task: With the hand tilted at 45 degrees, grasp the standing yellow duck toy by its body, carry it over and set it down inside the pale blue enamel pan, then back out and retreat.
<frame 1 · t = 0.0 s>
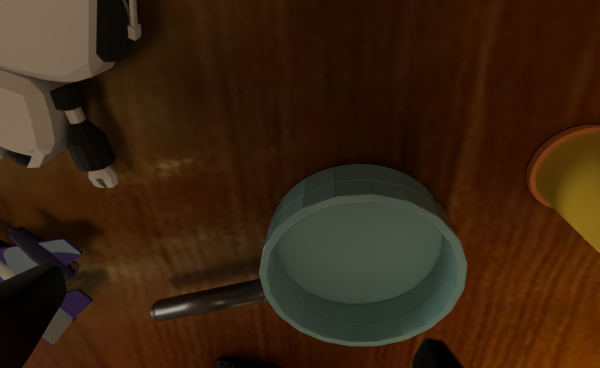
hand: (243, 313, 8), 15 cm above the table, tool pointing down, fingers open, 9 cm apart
toy airplane: (31, 244, 28), on the table
pan: (355, 242, 25), on the table
duck toy: (574, 167, 21), on the table
robot toy: (54, 42, 20), on the table
pan handle: (210, 300, 25), point 2 cm above the table
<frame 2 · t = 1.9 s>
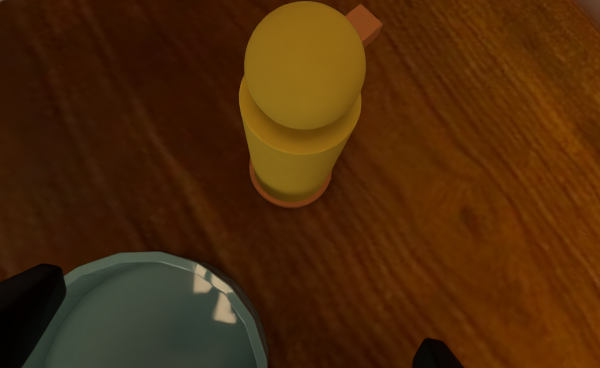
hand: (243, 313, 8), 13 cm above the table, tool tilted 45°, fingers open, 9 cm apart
duck toy: (290, 168, 23), on the table
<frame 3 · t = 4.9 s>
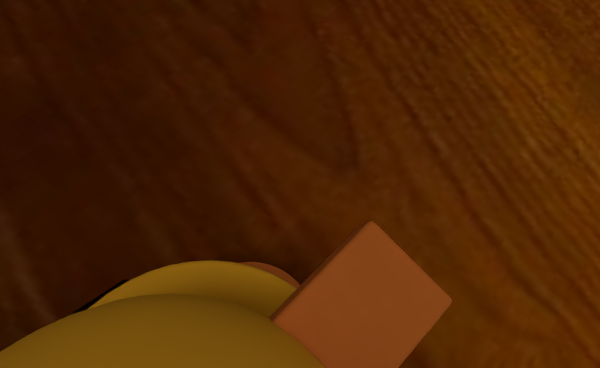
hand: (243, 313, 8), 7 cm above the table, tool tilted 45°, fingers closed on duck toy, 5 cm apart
duck toy: (249, 330, 14), on the table, touching gripper
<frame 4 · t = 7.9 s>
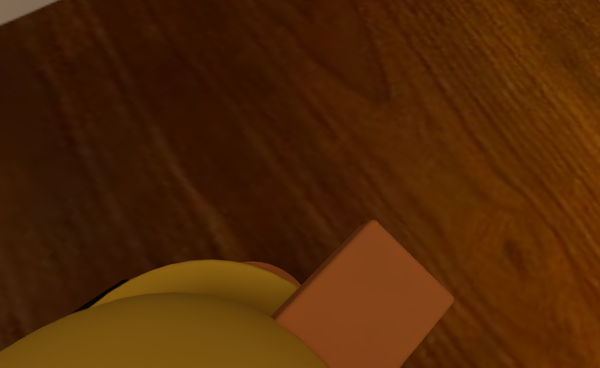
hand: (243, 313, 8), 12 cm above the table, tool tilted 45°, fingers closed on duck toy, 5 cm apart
duck toy: (249, 329, 14), point 6 cm above the table, touching gripper
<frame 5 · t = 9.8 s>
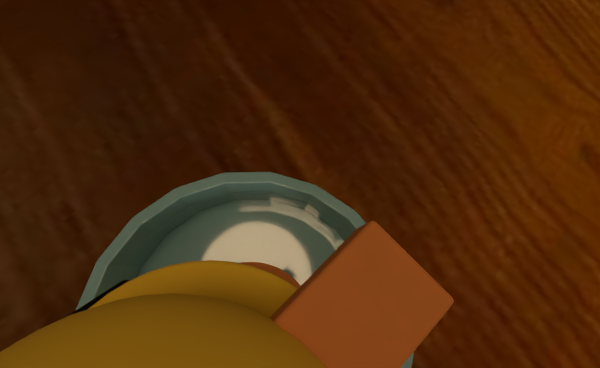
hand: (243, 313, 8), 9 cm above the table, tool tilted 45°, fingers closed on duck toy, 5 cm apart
pan: (253, 319, 17), on the table
duck toy: (249, 330, 14), point 3 cm above the table, touching gripper
when the fingers open (7 cm above the table, at t = 10.9 s): duck toy stays where it is, resting on pan.
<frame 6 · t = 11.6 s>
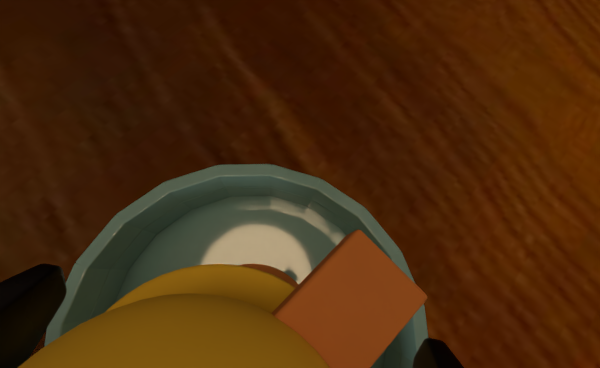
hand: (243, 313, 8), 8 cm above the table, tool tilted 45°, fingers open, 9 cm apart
pan: (251, 327, 15), on the table
duck toy: (251, 329, 15), resting on pan
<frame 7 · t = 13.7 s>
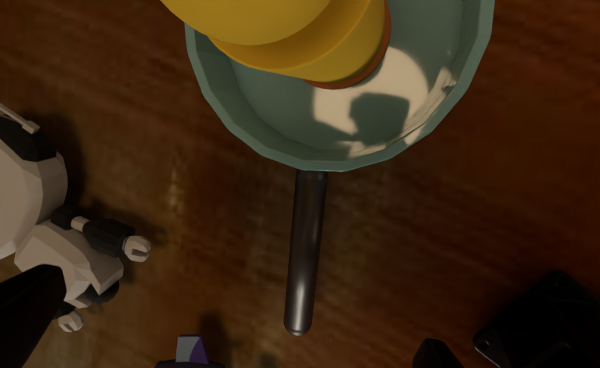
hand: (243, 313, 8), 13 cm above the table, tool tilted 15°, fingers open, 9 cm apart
pan: (336, 35, 18), on the table
duck toy: (334, 33, 17), resting on pan
robot toy: (66, 209, 26), on the table
pan handle: (304, 252, 18), point 2 cm above the table
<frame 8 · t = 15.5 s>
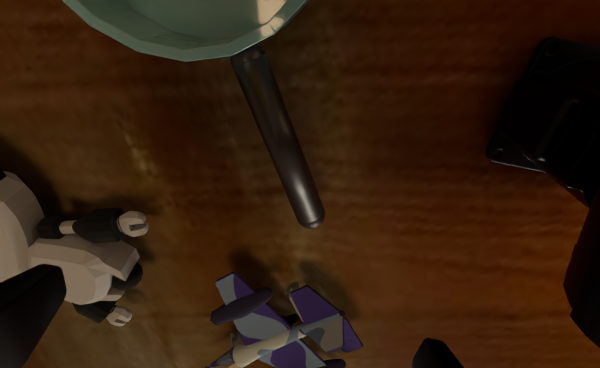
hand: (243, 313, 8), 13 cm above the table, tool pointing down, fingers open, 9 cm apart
toy airplane: (272, 313, 28), on the table
robot toy: (55, 224, 25), on the table
pan handle: (283, 145, 17), point 2 cm above the table
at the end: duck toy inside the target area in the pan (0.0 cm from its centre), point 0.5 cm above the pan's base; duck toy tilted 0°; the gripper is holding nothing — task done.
